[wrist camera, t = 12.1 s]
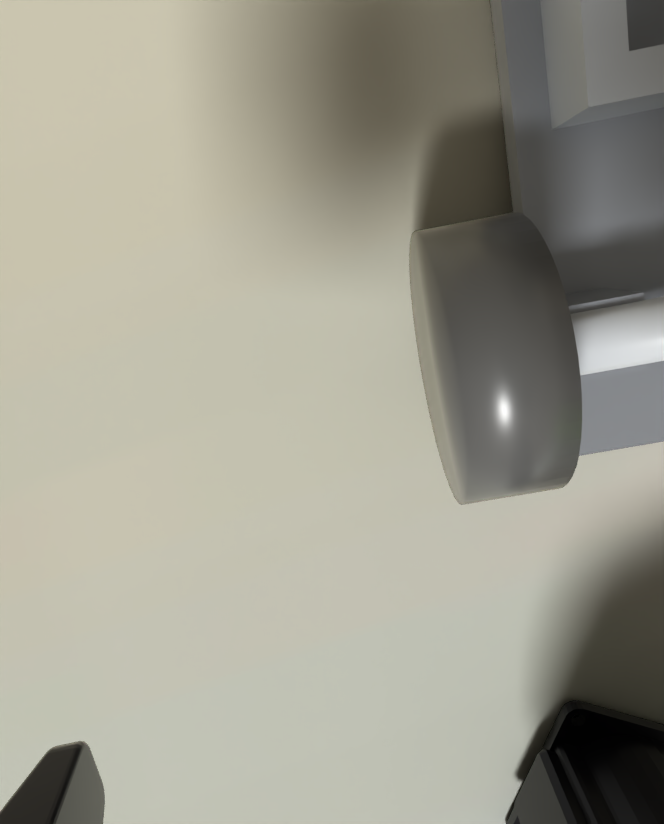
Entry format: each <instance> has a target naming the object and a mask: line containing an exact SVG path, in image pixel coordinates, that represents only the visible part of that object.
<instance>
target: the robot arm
mask: <svg viewBox="0 0 664 824" xmlns="http://www.w3.org/2000/svg"><path fill="white" fill-rule="evenodd" d="M577 714H580V716H579V717H577V718H573V717H574V716H575V715H577ZM104 805H105V795H104V787H103V783H102V780H101V777H100V775H99V772H98V769H97V766H96V764H95V761H94V758H93V756H92V753H91V750H90V748H89V746H88V744H87V743H85V742H84V741H78V742H74V743H69V744H64V745H59V746H55V747H53V748H51V749H50V750H49V751H48V752H47V753H46V754H45V755H44V756H43V758H42V759H41V760H40V761H39V763H38V764H37V765H36V767H35V768H34V769H33V770H32V772H31V773H30V774H29V775H28V777H27V778H26V779H25V781H24V782H23V783H22V784H21V786H20V787H19V788H18V790H17V791H16V792H15V793H14V795H13V796H12V797H11V798H10V800H9V801H8V802H7V804H6V805H5V806H4V807H3V809H2V810H1V811H0V824H103V817H104ZM506 824H664V725H662V724H658V723H655V722H651V721H648V720H644V719H641V718H637V717H634V716H630V715H627V714H623V713H620V712H616V711H613V710H609V709H606V708H602V707H599V706H595V705H592V704H588V703H584V702H581V701H571V702H568V703H566V704H565V705H564V706H563V707H562V709H561V711H560V713H559V715H558V717H557V719H556V721H555V723H554V725H553V727H552V729H551V732H550V734H549V736H548V738H547V740H546V742H545V744H544V746H543V748H542V750H541V751H540V752H539V753H538V754H537V756H536V758H535V760H534V762H533V765H532V767H531V769H530V771H529V773H528V775H527V777H526V779H525V781H524V783H523V785H522V787H521V790H520V792H519V794H518V796H517V798H516V800H515V802H514V808H513V810H512V812H511V815H510V817H509V819H508V821H507V823H506Z"/></svg>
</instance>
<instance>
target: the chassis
mask: <svg viewBox="0 0 664 824" xmlns="http://www.w3.org/2000/svg"><path fill="white" fill-rule="evenodd" d="M490 5H491V14H492V24H493V33H494V42H495V51H496V60H497V70H498V79H499V88H500V97H501V106H502V116H503V125H504V134H505V143H506V153H507V162H508V171H509V180H510V189H511V199H512V208H513V212H512V213H507V214H502V215H496V216H491V217H486V218H481V219H476V220H471V221H465V222H460V223H455V224H450V225H445V226H440V227H434V228H429V229H424V230H419V231H414V232H413V234H412V237H411V241H410V251H409V268H410V287H411V299H412V309H413V318H414V326H415V334H416V341H417V348H418V354H419V360H420V367H421V372H422V378H423V383H424V389H425V394H426V399H427V404H428V409H429V413H430V418H431V423H432V427H433V431H434V435H435V439H436V443H437V447H438V451H439V455H440V458H441V462H442V465H443V468H444V471H445V474H446V477H447V480H448V483H449V486H450V488H451V490H452V493H453V495H454V497H455V498H456V500H457V501H458V503H459V504H461V505H463V504H469V503H475V502H481V501H487V500H493V499H499V498H505V497H511V496H517V495H523V494H529V493H535V492H541V491H547V490H553V489H559V488H562V487H564V486H565V485H566V484H568V482H569V481H570V479H571V478H572V476H573V474H574V471H575V468H576V465H577V461H578V457H579V456H580V455H586V454H592V453H598V452H604V451H610V450H616V449H622V448H628V447H633V446H639V445H645V444H651V443H657V442H663V441H664V0H490Z"/></svg>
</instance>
